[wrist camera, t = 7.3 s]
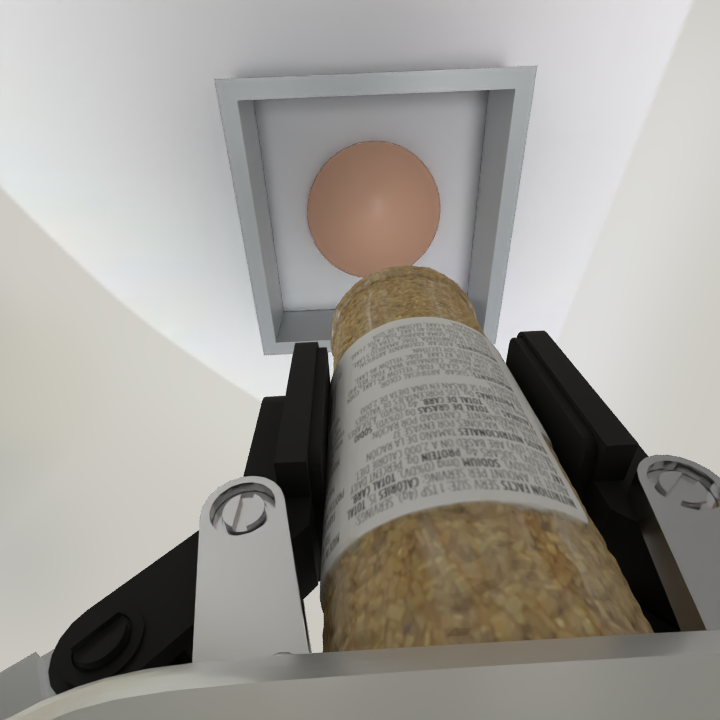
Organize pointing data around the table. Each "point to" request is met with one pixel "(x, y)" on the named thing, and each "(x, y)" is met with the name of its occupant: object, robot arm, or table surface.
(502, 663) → the robot arm
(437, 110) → the table surface
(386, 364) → the sprinkles bottle
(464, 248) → the table surface
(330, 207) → the grey square tray
